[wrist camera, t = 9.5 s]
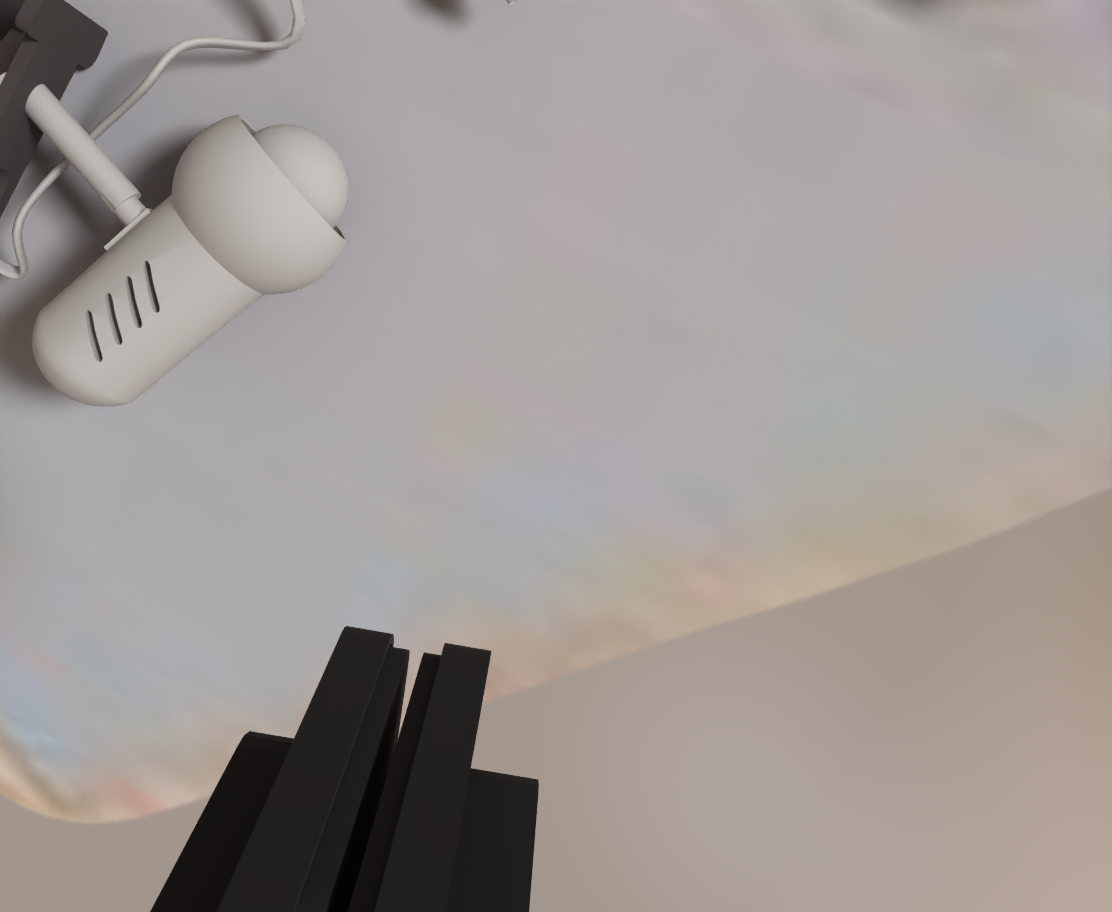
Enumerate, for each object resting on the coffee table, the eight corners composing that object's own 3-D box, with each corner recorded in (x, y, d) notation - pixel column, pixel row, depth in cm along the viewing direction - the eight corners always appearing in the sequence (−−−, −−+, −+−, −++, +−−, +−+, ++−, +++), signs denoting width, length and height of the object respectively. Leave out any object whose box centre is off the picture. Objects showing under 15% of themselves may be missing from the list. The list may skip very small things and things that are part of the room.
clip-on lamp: (317, -242, 29) (-129, 150, 29) (271, -391, 22) (-293, 111, 23) (565, 83, 31) (142, 440, 32) (587, 29, 24) (59, 476, 25)
